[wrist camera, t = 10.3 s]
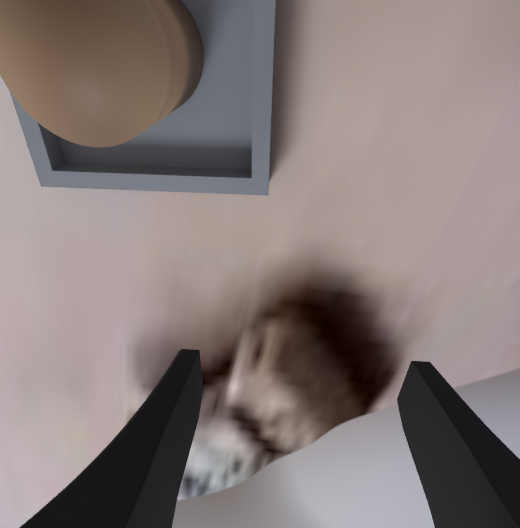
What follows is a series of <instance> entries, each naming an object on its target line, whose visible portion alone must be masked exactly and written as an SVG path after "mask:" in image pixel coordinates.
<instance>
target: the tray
mask: <svg viewBox="0 0 520 528" xmlns="http://www.w3.org/2000/svg"><path fill="white" fill-rule="evenodd" d="M181 1H182V3H183V4H184V5H185V6H186V7H187V9H188V10H189V12H190V13H191V15H192V17H193V19H194V20H195V22H196V25H197V27H198V30H199V33H200V36H201V40H202V45H203V55H204V59H203V70H202V75H201V78H200V82H199V84H198V86H197V88H196V90H195V92H194V93H193V95H192V96H191V97H190V98H189V100H187V101H186V102H185V103H184V104H183V105H181V106H180V107H178V108H177V109H175V110H174V111H172V112H171V113H170V114H168V115H167V116H165V117H164V118H162V119H161V120H159V121H158V122H156V123H155V124H153V125H152V126H150V127H149V128H147V129H146V130H144V131H143V132H142V133H140V134H139V135H137V136H136V137H134V138H133V139H131V140H129V141H127V142H125V143H123V144H119V145H116V146H111V147H89V146H83V145H79V144H76V143H73V142H70V141H68V140H65V139H63V138H61V137H59V136H57V135H55V134H53V133H52V132H50V131H49V130H47V129H46V128H44V127H43V126H42V125H41V124H39V123H38V122H37V121H36V120H34V119H33V118H32V117H31V116H30V115H29V114H28V113H27V112H26V111H25V110H24V109H23V107H22V106H21V105H20V104H19V103H18V102H17V100H16V99H15V98H14V96H13V95H12V93H11V92H10V94H11V97H12V100H13V103H14V106H15V109H16V112H17V115H18V118H19V121H20V124H21V127H22V130H23V133H24V136H25V139H26V142H27V145H28V148H29V151H30V154H31V157H32V160H33V163H34V166H35V169H36V172H37V175H38V179H39V182H40V185H41V187H67V188H92V189H118V190H144V191H169V192H195V193H220V194H246V195H268V191H269V173H270V147H271V120H272V94H273V68H274V42H275V15H276V0H181ZM9 91H10V90H9Z"/></svg>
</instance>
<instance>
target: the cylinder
mask: <svg viewBox="0 0 520 528" xmlns="http://www.w3.org/2000/svg"><path fill="white" fill-rule="evenodd" d="M203 59H204V55H203V45H202V40H201V36H200V33H199V30H198V27H197V25H196V22H195V20H194V19H193V17H192V15H191V13H190V12H189V10H188V9H187V7H186V6H185V5H184V4H183V3H182V1H181V0H0V75H1V77H2V79H3V80H4V82H5V84H6V86H7V87H8V89H9V90H10V92H11V93H12V95H13V96H14V98H15V99H16V100H17V102H18V103H19V104H20V105H21V106H22V107H23V109H24V110H25V111H26V112H27V113H28V114H29V115H30V116H31V117H32V118H33V119H34V120H36V121H37V122H38V123H39V124H41V125H42V126H43V127H44V128H46V129H47V130H49V131H50V132H52V133H53V134H55V135H57V136H59V137H61V138H63V139H65V140H68V141H70V142H73V143H76V144H79V145H83V146H89V147H111V146H116V145H119V144H123V143H125V142H127V141H129V140H131V139H133V138H134V137H136V136H137V135H139V134H140V133H142V132H143V131H144V130H146V129H147V128H149V127H150V126H152V125H153V124H155V123H156V122H158V121H159V120H161V119H162V118H164V117H165V116H167V115H168V114H170V113H171V112H172V111H174V110H175V109H177V108H178V107H180V106H181V105H183V104H184V103H185V102H186V101H187V100H189V98H190V97H191V96H192V95H193V93H194V92H195V90H196V88H197V86H198V84H199V82H200V78H201V75H202V70H203Z"/></svg>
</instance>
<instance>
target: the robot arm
mask: <svg viewBox="0 0 520 528" xmlns="http://www.w3.org/2000/svg"><path fill="white" fill-rule="evenodd" d="M202 394H203V381H202V371H201V362H200V352H199V350H188V349H181V350H180V351H179V352H178V354H177V355H176V357H175V359H174V360H173V362H172V363H171V365H170V367H169V368H168V370H167V371H166V373H165V374H164V376H163V377H162V378H161V380H160V381H159V383H158V384H157V386H156V387H155V388H154V390H153V391H152V392H151V394H150V395H149V396H148V398H147V399H146V401H145V402H144V403H143V404H142V406H141V407H140V408H139V410H138V411H137V412H136V413H135V414H134V416H133V417H132V418H131V419H130V421H129V422H128V423H127V424H126V425H125V427H124V428H123V429H122V430H121V431H120V432H119V434H118V435H117V436H116V437H115V438H114V439H113V440H112V441H111V443H110V444H109V445H108V446H107V447H106V448H105V449H104V450H103V451H102V452H101V453H100V454H99V455H98V456H97V457H96V458H95V459H94V460H93V461H92V462H91V463H90V464H89V465H88V466H87V467H86V468H85V469H84V470H83V471H82V472H81V473H80V474H79V475H78V476H77V477H76V478H75V479H74V480H73V481H72V482H71V483H70V484H69V485H68V486H67V487H66V488H65V489H64V490H62V491H61V492H60V493H59V494H58V495H57V496H56V497H54V498H53V499H52V500H51V501H50V502H49V503H48V504H47V505H45V506H44V507H43V508H42V509H41V510H40V511H39V512H37V513H36V514H35V515H34V516H33V517H32V518H31V519H29V520H28V521H27V522H26V523H25V524H23V525H22V526H21V527H20V528H172V522H173V517H174V511H175V507H176V501H177V497H178V493H179V489H180V484H181V481H182V477H183V474H184V470H185V466H186V463H187V459H188V455H189V452H190V448H191V444H192V441H193V437H194V433H195V430H196V426H197V422H198V418H199V412H200V406H201V400H202ZM397 401H398V406H399V412H400V417H401V421H402V425H403V430H404V433H405V436H406V439H407V442H408V445H409V448H410V451H411V454H412V457H413V460H414V463H415V466H416V468H417V472H418V475H419V477H420V480H421V483H422V486H423V489H424V492H425V495H426V498H427V500H428V504H429V508H430V511H431V514H432V518H433V522H434V526H435V528H520V459H519V458H518V457H516V455H515V454H514V453H513V452H512V451H511V450H509V448H508V447H507V446H506V445H505V444H504V443H503V442H502V441H501V440H500V439H499V438H498V437H497V436H496V435H495V434H494V433H492V431H491V430H490V429H489V428H488V427H487V426H486V425H485V424H484V423H483V422H482V421H481V419H480V418H479V417H478V416H477V415H476V414H475V413H474V412H473V411H472V410H471V409H470V407H469V406H468V405H467V404H466V403H465V402H464V401H463V400H462V398H461V397H460V396H459V395H458V394H457V393H456V392H455V390H454V389H453V388H452V387H451V386H450V385H449V384H448V382H447V381H446V380H445V379H444V378H443V377H442V375H441V374H440V373H439V372H438V371H437V370H436V369H435V367H434V366H433V365H432V364H431V363H430V362H422V361H411V363H410V366H409V369H408V371H407V374H406V377H405V380H404V382H403V385H402V388H401V390H400V393H399V396H398V398H397Z"/></svg>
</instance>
